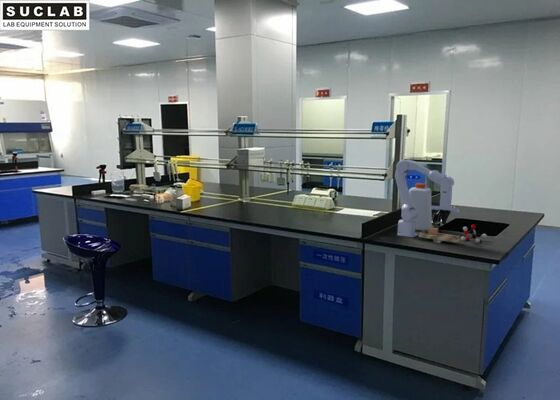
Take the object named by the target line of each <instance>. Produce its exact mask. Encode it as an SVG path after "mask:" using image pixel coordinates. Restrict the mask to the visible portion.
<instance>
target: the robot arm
mask: <svg viewBox="0 0 560 400" xmlns="http://www.w3.org/2000/svg"><path fill="white" fill-rule="evenodd" d="M395 167H396V169H395V171H394V172H395V173H394V179H395V181H396V186H397V190H398V194H399V197H400V201H401V205H402V206H401V215H400V217H401V219H399V220H398V223H397V233H396V235H397V236H400V237H405V238H406V237H407V238H414V237H416V236H418V233H416V230H415V227H416V217H417V216H418V212H417V210H416V209H415V207H414V205H413V204H412V202H411V198H410V194H409V187H408V183H407V180H406V175H407V174H408V173H410V171H417V172H418V173H421V174H423V175H425V176H427V177H428V180H430V181H432V182H433V183H435V184H437V185H439V186H440V187H441V188H440V197H439V205H431V211H432V210H435V211H438V214H439V216H440V218H441V224H442V225H446V224H447V220H448V218H449V217H450V214H451V212H453V213H460V208H457V207H452V197H453V186H454V185H455V180H454V179H453V178H452V177H451V176H447V174H444V173H441V172H439V170H438V169H437V170H435V169H434V170H431V169H429V168H427V167H426V166H424V165H422V164H421V163H418V162H417V161H415V160H412V159H410V158H409V159H408V158H407V159H401V160H399V161H398V162H397V164H396V165H395Z"/></svg>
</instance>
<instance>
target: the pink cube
mask: <svg viewBox="0 0 560 400" xmlns="http://www.w3.org/2000/svg"><path fill="white" fill-rule="evenodd" d="M428 232H429V233H428V234H435V235H438V233H439V228H438V227H431V228H429V230H428Z"/></svg>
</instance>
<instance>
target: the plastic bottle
mask: <svg viewBox="0 0 560 400" xmlns="http://www.w3.org/2000/svg"><path fill="white" fill-rule="evenodd" d="M426 185H427V184H426V183H423V182H422V183H421V182H417V183H415V185H414V186H413V187H410V188H408V191H409V194H410V198H411V202H412V204H413V205H414V207H415V209H416V210H417V212H418V216H417V217H416V227H415V231H419V232H421V231H422V230H427V231H428V232H429V228H433V227H432V225H433V224H432V220H433V219H432V214H433V213H432V209H431V206H432V189H431V188H430V187H426Z"/></svg>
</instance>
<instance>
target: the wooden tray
mask: <svg viewBox="0 0 560 400" xmlns="http://www.w3.org/2000/svg"><path fill="white" fill-rule="evenodd" d="M428 233H429V230H428V231H427V230H422V231H419V233H418V237H419V238H423V239H430V240H433V243H435V242H436V243H437V244H441V243H442V242H450V243H457V242H459V241H460V235H454V234H448V233H442V232H441V233H440V232H438V235H435V234H428Z"/></svg>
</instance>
